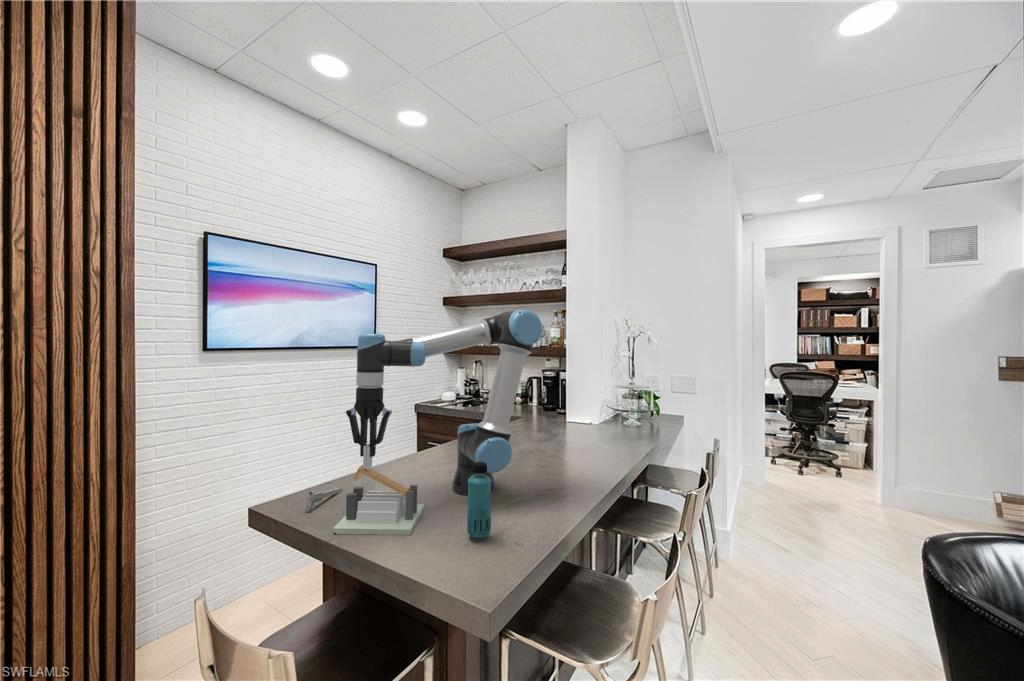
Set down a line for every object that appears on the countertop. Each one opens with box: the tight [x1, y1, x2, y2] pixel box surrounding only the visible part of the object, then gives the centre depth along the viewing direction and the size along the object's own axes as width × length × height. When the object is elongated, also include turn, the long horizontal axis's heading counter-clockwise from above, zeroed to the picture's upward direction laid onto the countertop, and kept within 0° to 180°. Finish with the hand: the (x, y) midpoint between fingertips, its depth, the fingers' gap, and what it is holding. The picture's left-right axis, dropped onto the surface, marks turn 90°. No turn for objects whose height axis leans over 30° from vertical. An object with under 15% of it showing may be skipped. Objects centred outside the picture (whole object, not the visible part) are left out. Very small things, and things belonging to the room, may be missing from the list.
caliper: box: [305, 487, 344, 513], centre depth 138 cm, size 20×1×6 cm, turn 173°
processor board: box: [332, 484, 426, 536], centre depth 124 cm, size 21×18×10 cm
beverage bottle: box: [466, 462, 492, 539], centre depth 113 cm, size 6×7×20 cm
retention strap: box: [353, 464, 415, 497], centre depth 124 cm, size 18×3×4 cm, turn 90°
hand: (367, 467), depth 123 cm, fingers closed
